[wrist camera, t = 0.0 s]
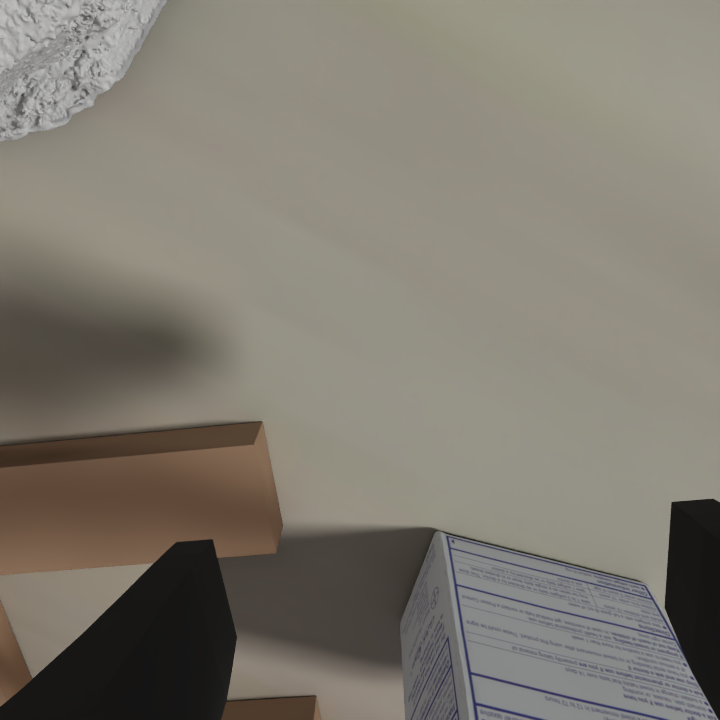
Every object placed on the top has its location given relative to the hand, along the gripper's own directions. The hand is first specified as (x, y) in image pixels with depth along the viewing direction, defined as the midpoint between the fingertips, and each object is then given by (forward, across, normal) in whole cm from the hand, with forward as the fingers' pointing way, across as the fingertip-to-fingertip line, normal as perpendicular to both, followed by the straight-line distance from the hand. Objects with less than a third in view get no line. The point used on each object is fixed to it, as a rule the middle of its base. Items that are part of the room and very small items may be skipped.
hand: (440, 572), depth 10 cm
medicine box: (+10, -3, +10) cm, 15 cm away
